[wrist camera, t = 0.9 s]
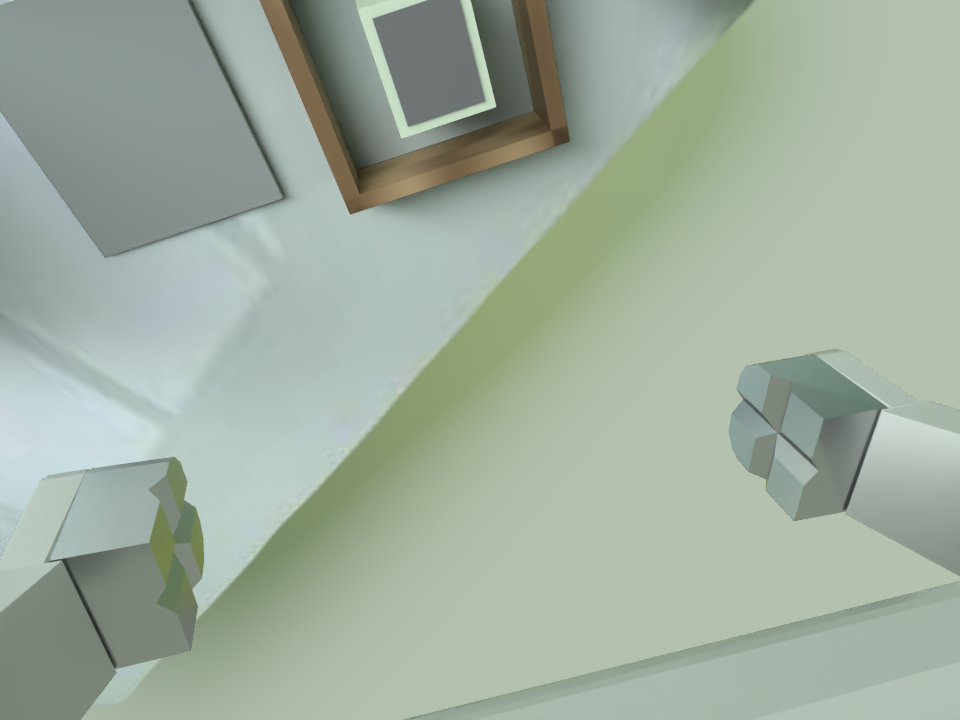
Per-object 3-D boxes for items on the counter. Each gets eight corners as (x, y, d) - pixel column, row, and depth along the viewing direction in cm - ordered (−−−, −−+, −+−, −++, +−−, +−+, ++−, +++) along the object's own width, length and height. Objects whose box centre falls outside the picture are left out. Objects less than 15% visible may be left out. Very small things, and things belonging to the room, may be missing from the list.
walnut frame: (492, -187, 33) (510, -193, 30) (551, 121, 43) (569, 141, 40) (229, -98, 34) (219, -94, 30) (348, 189, 43) (350, 214, 40)
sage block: (436, -47, 37) (464, -26, 29) (465, 64, 40) (497, 107, 33) (350, -18, 37) (357, 10, 29) (387, 90, 40) (401, 139, 33)
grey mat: (165, -51, 34) (162, -50, 34) (283, 194, 43) (282, 198, 42) (-55, 24, 34) (-61, 26, 34) (107, 253, 43) (105, 257, 42)
